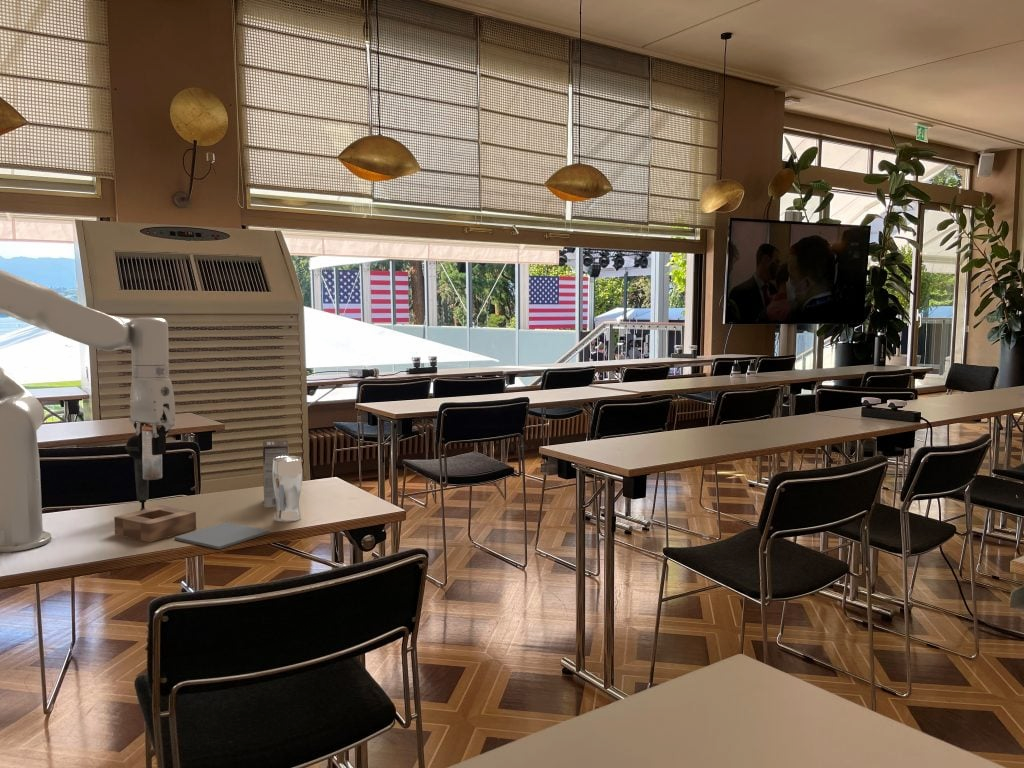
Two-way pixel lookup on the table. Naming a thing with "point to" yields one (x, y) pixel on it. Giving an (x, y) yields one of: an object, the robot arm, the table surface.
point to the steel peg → (150, 455)
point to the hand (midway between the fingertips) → (152, 452)
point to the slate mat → (222, 535)
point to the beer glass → (287, 487)
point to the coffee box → (271, 467)
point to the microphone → (138, 470)
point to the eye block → (155, 523)
